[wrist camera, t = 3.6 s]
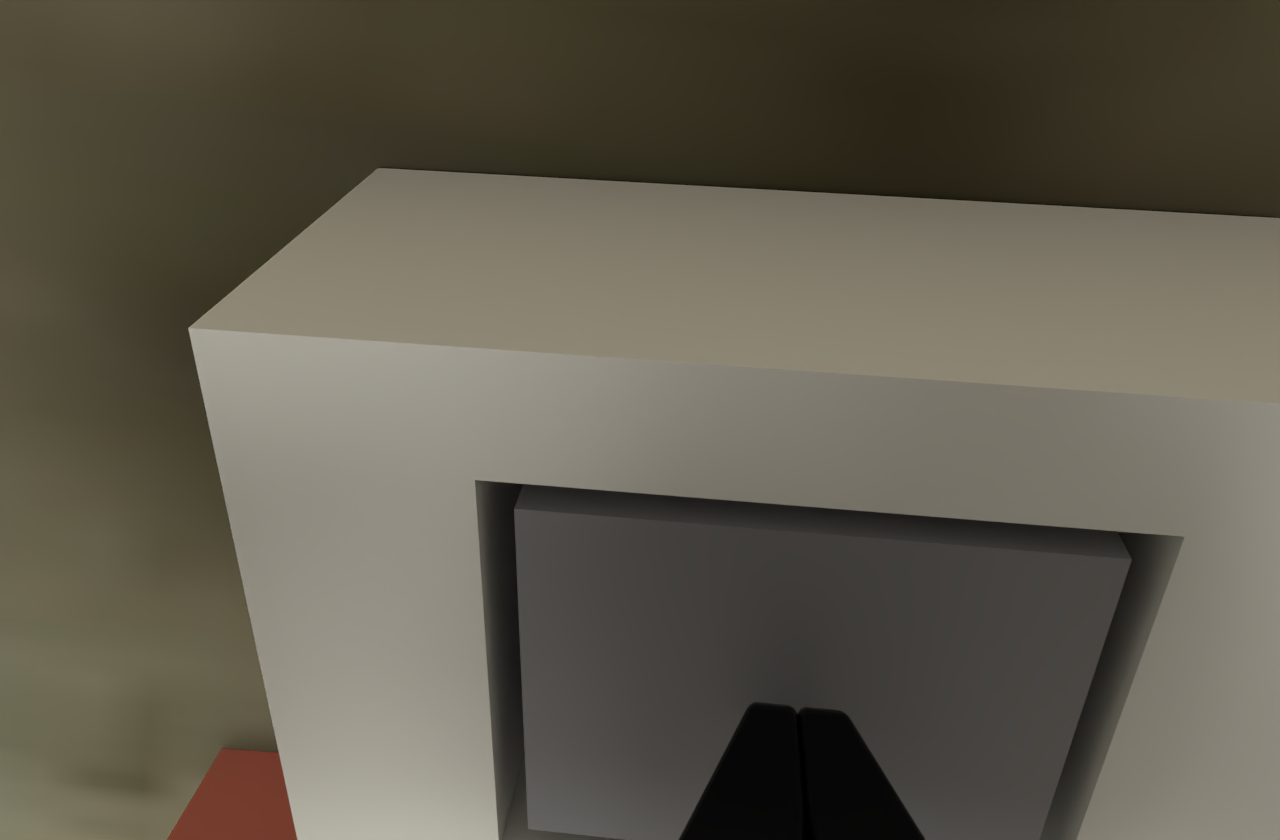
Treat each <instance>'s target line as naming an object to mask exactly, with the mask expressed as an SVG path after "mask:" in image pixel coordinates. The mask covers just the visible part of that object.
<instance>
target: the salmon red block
mask: <svg viewBox="0 0 1280 840" xmlns="http://www.w3.org/2000/svg"><path fill="white" fill-rule="evenodd" d="M167 840H297V836H296V831H295V826H294V821H293V817H292V812H291V807H290V803H289V798H288V793H287V789H286V784H285V779H284V775H283V770H282V765H281V761H280V756H279V753H277V752H263V751H249V750H235V749H221V751H220V753H219V754H218V756H217V758H216V759H215V761H214V763H213V764H212V766H211V768H210V769H209V771H208V773H207V774H206V776H205V778H204V779H203V781H202V783H201V784H200V786H199V788H198V789H197V791H196V792H195V794H194V796H193V797H192V799H191V801H190V802H189V804H188V806H187V807H186V809H185V811H184V812H183V814H182V816H181V817H180V819H179V821H178V822H177V824H176V826H175V827H174V829H173V831H172V832H171V834H170V836H169V837H168V839H167Z"/></svg>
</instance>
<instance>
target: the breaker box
mask: <svg viewBox="0 0 1280 840" xmlns="http://www.w3.org/2000/svg"><path fill="white" fill-rule="evenodd" d="M188 330H189V334H190V339H191V344H192V348H193V353H194V358H195V362H196V367H197V372H198V376H199V381H200V386H201V391H202V395H203V400H204V405H205V409H206V414H207V419H208V423H209V428H210V433H211V437H212V442H213V447H214V451H215V456H216V461H217V465H218V470H219V475H220V480H221V484H222V489H223V494H224V498H225V503H226V508H227V512H228V517H229V522H230V526H231V531H232V536H233V540H234V545H235V550H236V554H237V559H238V564H239V569H240V573H241V578H242V583H243V587H244V592H245V597H246V601H247V606H248V611H249V615H250V620H251V625H252V629H253V634H254V639H255V643H256V648H257V653H258V658H259V662H260V667H261V672H262V676H263V681H264V686H265V690H266V695H267V700H268V704H269V709H270V714H271V718H272V723H273V728H274V732H275V737H276V742H277V747H278V751H279V756H280V761H281V765H282V770H283V775H284V779H285V784H286V789H287V793H288V798H289V803H290V807H291V812H292V817H293V821H294V826H295V831H296V836H297V840H623V839H614V838H605V837H595V836H586V835H577V834H567V833H558V832H549V831H539V830H530V829H528V817H527V794H526V771H525V749H524V726H523V703H522V680H521V658H520V635H519V612H518V590H517V567H516V544H515V521H514V507H515V505H516V502H517V499H518V497H519V494H520V491H521V489H522V486H523V484H531V485H544V486H556V487H569V488H581V489H594V490H606V491H619V492H631V493H644V494H656V495H669V496H681V497H694V498H706V499H719V500H731V501H744V502H756V503H769V504H781V505H794V506H806V507H819V508H831V509H844V510H856V511H869V512H881V513H894V514H906V515H919V516H932V517H944V518H957V519H969V520H982V521H994V522H1007V523H1019V524H1032V525H1044V526H1057V527H1069V528H1082V529H1094V530H1107V531H1118V533H1119V535H1120V537H1121V539H1122V541H1123V543H1124V545H1125V547H1126V549H1127V551H1128V553H1129V555H1130V557H1131V559H1132V561H1131V564H1130V567H1129V570H1128V573H1127V576H1126V579H1125V582H1124V585H1123V588H1122V591H1121V594H1120V597H1119V600H1118V603H1117V606H1116V609H1115V612H1114V615H1113V618H1112V621H1111V624H1110V627H1109V630H1108V633H1107V636H1106V640H1105V643H1104V646H1103V649H1102V652H1101V655H1100V658H1099V661H1098V664H1097V667H1096V670H1095V673H1094V676H1093V679H1092V682H1091V685H1090V688H1089V691H1088V694H1087V697H1086V700H1085V703H1084V706H1083V709H1082V712H1081V715H1080V718H1079V721H1078V724H1077V727H1076V730H1075V733H1074V736H1073V739H1072V742H1071V745H1070V748H1069V751H1068V755H1067V758H1066V761H1065V764H1064V767H1063V770H1062V773H1061V776H1060V779H1059V782H1058V785H1057V788H1056V791H1055V794H1054V797H1053V800H1052V803H1051V806H1050V809H1049V812H1048V815H1047V818H1046V821H1045V824H1044V827H1043V830H1042V833H1041V836H1040V839H1039V840H1280V218H1269V217H1251V216H1233V215H1215V214H1197V213H1179V212H1161V211H1143V210H1125V209H1107V208H1089V207H1071V206H1054V205H1036V204H1018V203H1000V202H982V201H964V200H946V199H928V198H910V197H892V196H874V195H856V194H838V193H820V192H802V191H784V190H766V189H748V188H730V187H712V186H694V185H676V184H658V183H640V182H622V181H604V180H586V179H568V178H550V177H532V176H514V175H496V174H478V173H460V172H442V171H424V170H406V169H388V168H377V169H376V170H375V171H374V172H373V173H372V174H370V175H369V176H368V177H367V178H366V179H364V180H363V181H362V182H361V183H360V184H358V185H357V186H356V187H355V188H354V189H353V190H351V191H350V192H349V193H348V194H347V195H345V196H344V197H343V198H342V199H341V200H340V201H338V202H337V203H336V204H335V205H334V206H332V207H331V208H330V209H329V210H328V211H326V212H325V213H324V214H323V215H322V216H321V217H319V218H318V219H317V220H316V221H315V222H313V223H312V224H311V225H310V226H309V227H307V228H306V229H305V230H304V231H303V232H302V233H300V234H299V235H298V236H297V237H296V238H294V239H293V240H292V241H291V242H290V243H289V244H287V245H286V246H285V247H284V248H283V249H281V250H280V251H279V252H278V253H277V254H275V255H274V256H273V257H272V258H271V259H270V260H268V261H267V262H266V263H265V264H264V265H262V266H261V267H260V268H259V269H258V270H256V271H255V272H254V273H253V274H252V275H251V276H249V277H248V278H247V279H246V280H245V281H243V282H242V283H241V284H240V285H239V286H237V287H236V288H235V289H234V290H233V291H232V292H230V293H229V294H228V295H227V296H226V297H224V298H223V299H222V300H221V301H220V302H219V303H217V304H216V305H215V306H214V307H213V308H211V309H210V310H209V311H208V312H207V313H205V314H204V315H203V316H202V317H201V318H200V319H198V320H197V321H196V322H195V323H194V324H192V325H191V326H190V327H189V328H188Z"/></svg>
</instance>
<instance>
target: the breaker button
mask: <svg viewBox="0 0 1280 840" xmlns="http://www.w3.org/2000/svg"><path fill="white" fill-rule="evenodd" d="M514 521H515V544H516V567H517V590H518V612H519V635H520V658H521V680H522V703H523V726H524V749H525V771H526V794H527V817H528V829H530V830H539V831H549V832H558V833H567V834H577V835H586V836H595V837H605V838H614V839H623V840H679V838H680V836H681V834H682V832H683V830H684V828H685V826H686V824H687V822H688V820H689V818H690V817H691V815H692V813H693V811H694V809H695V807H696V805H697V803H698V801H699V799H700V797H701V795H702V793H703V791H704V790H705V788H706V786H707V784H708V782H709V780H710V778H711V776H712V774H713V772H714V770H715V768H716V766H717V765H718V763H719V761H720V759H721V757H722V755H723V753H724V751H725V749H726V747H727V745H728V743H729V741H730V739H731V738H732V736H733V734H734V732H735V730H736V728H737V726H738V724H739V722H740V720H741V718H742V716H743V714H744V713H745V711H746V709H747V707H748V706H749V705H750V704H752V703H754V702H760V703H770V704H781V705H790V706H792V707H793V708H795V710H796V712H797V713H798V711H799V710H800V709H802V708H803V707H812V708H823V709H833V710H840V711H843V712H844V713H846V714H847V715H848V716H849V717H850V719H851V720H852V722H853V724H854V725H855V727H856V728H857V730H858V732H859V733H860V735H861V736H862V738H863V740H864V741H865V743H866V744H867V746H868V748H869V749H870V751H871V753H872V754H873V756H874V757H875V759H876V761H877V762H878V764H879V765H880V767H881V769H882V770H883V772H884V773H885V775H886V777H887V778H888V780H889V782H890V783H891V785H892V786H893V788H894V790H895V791H896V793H897V794H898V796H899V798H900V799H901V801H902V802H903V804H904V806H905V807H906V809H907V810H908V812H909V814H910V815H911V817H912V819H913V820H914V822H915V823H916V825H917V827H918V828H919V830H920V831H921V833H922V835H923V836H924V838H925V839H926V840H1039V839H1040V836H1041V833H1042V830H1043V827H1044V824H1045V821H1046V818H1047V815H1048V812H1049V809H1050V806H1051V803H1052V800H1053V797H1054V794H1055V791H1056V788H1057V785H1058V782H1059V779H1060V776H1061V773H1062V770H1063V767H1064V764H1065V761H1066V758H1067V755H1068V751H1069V748H1070V745H1071V742H1072V739H1073V736H1074V733H1075V730H1076V727H1077V724H1078V721H1079V718H1080V715H1081V712H1082V709H1083V706H1084V703H1085V700H1086V697H1087V694H1088V691H1089V688H1090V685H1091V682H1092V679H1093V676H1094V673H1095V670H1096V667H1097V664H1098V661H1099V658H1100V655H1101V652H1102V649H1103V646H1104V643H1105V640H1106V636H1107V633H1108V630H1109V627H1110V624H1111V621H1112V618H1113V615H1114V612H1115V609H1116V606H1117V603H1118V600H1119V597H1120V594H1121V591H1122V588H1123V585H1124V582H1125V579H1126V576H1127V573H1128V570H1129V567H1130V564H1131V561H1132V559H1131V557H1130V555H1129V553H1128V551H1127V549H1126V547H1125V545H1124V543H1123V541H1122V539H1121V537H1120V535H1119V533H1118V531H1107V530H1094V529H1082V528H1069V527H1057V526H1044V525H1032V524H1019V523H1007V522H994V521H982V520H969V519H957V518H944V517H932V516H919V515H906V514H894V513H881V512H869V511H856V510H844V509H831V508H819V507H806V506H794V505H781V504H769V503H756V502H744V501H731V500H719V499H706V498H694V497H681V496H669V495H656V494H644V493H631V492H619V491H606V490H594V489H581V488H569V487H556V486H544V485H531V484H523V486H522V489H521V491H520V494H519V497H518V499H517V502H516V505H515V507H514Z"/></svg>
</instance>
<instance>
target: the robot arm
mask: <svg viewBox="0 0 1280 840" xmlns="http://www.w3.org/2000/svg"><path fill="white" fill-rule="evenodd" d="M679 840H926V839H925V838H924V836H923V835H922V833H921V831H920V830H919V828H918V827H917V825H916V823H915V822H914V820H913V819H912V817H911V815H910V814H909V812H908V810H907V809H906V807H905V806H904V804H903V802H902V801H901V799H900V798H899V796H898V794H897V793H896V791H895V790H894V788H893V786H892V785H891V783H890V782H889V780H888V778H887V777H886V775H885V773H884V772H883V770H882V769H881V767H880V765H879V764H878V762H877V761H876V759H875V757H874V756H873V754H872V753H871V751H870V749H869V748H868V746H867V744H866V743H865V741H864V740H863V738H862V736H861V735H860V733H859V732H858V730H857V728H856V727H855V725H854V724H853V722H852V720H851V719H850V717H849V716H848V715H847V714H846V713H844V712H843V711H840V710H833V709H823V708H812V707H803V708H802V709H800V710H799V711H798V713H797V712H796V710H795V708H793V707H792V706H790V705H781V704H770V703H760V702H754V703H752V704H750V705H749V706H748V707H747V709H746V711H745V713H744V714H743V716H742V718H741V720H740V722H739V724H738V726H737V728H736V730H735V732H734V734H733V736H732V738H731V739H730V741H729V743H728V745H727V747H726V749H725V751H724V753H723V755H722V757H721V759H720V761H719V763H718V765H717V766H716V768H715V770H714V772H713V774H712V776H711V778H710V780H709V782H708V784H707V786H706V788H705V790H704V791H703V793H702V795H701V797H700V799H699V801H698V803H697V805H696V807H695V809H694V811H693V813H692V815H691V817H690V818H689V820H688V822H687V824H686V826H685V828H684V830H683V832H682V834H681V836H680V838H679Z"/></svg>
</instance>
